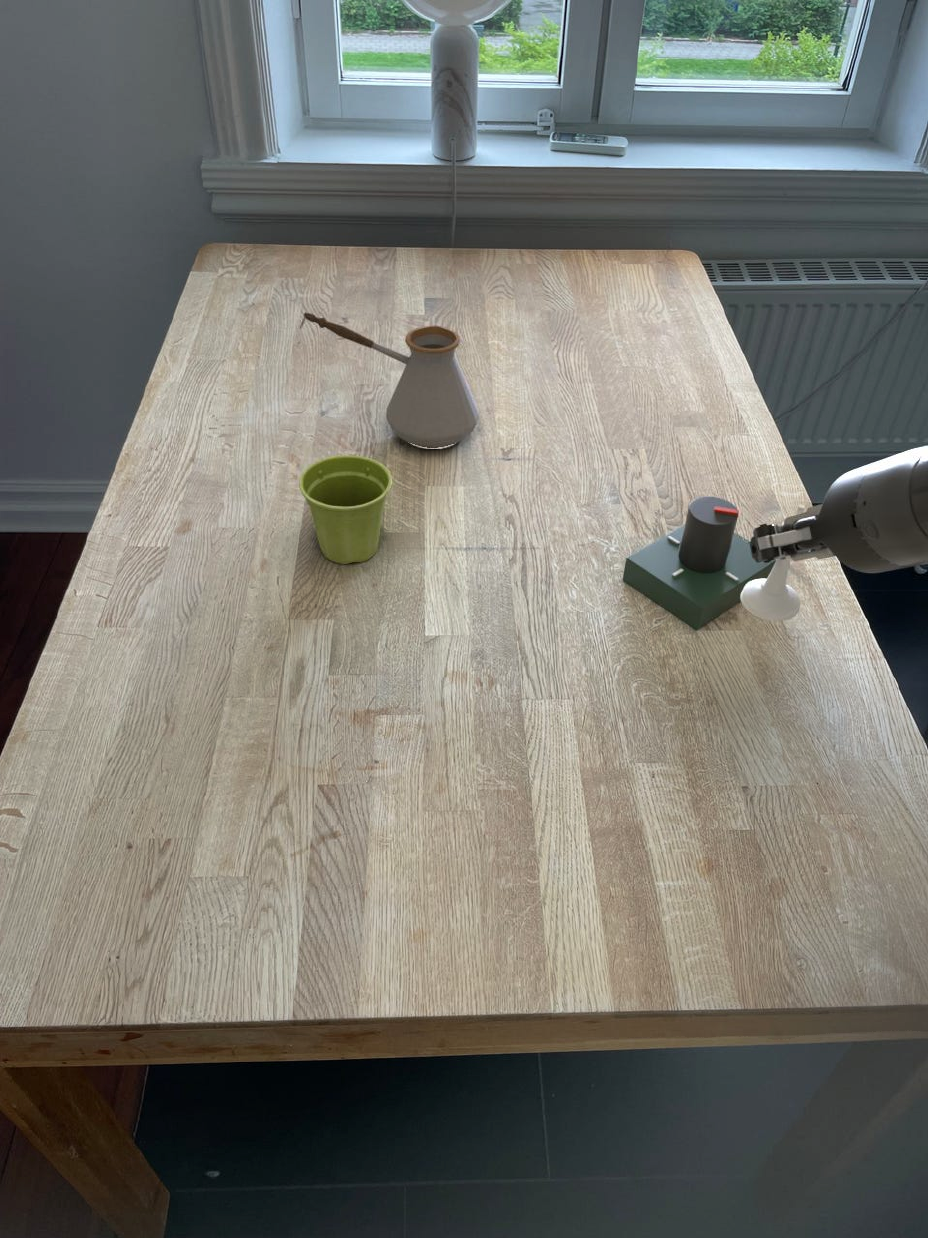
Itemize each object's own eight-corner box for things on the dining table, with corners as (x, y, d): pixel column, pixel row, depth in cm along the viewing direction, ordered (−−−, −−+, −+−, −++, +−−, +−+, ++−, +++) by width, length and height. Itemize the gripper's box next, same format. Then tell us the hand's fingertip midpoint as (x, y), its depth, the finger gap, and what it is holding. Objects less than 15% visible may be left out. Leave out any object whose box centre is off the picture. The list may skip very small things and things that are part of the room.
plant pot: (410, 538, 106) (409, 470, 100) (363, 586, 99) (359, 517, 94) (338, 512, 109) (333, 445, 103) (288, 558, 103) (279, 489, 97)
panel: (696, 536, 107) (701, 513, 105) (770, 582, 102) (778, 558, 99) (622, 579, 101) (626, 556, 99) (696, 630, 96) (703, 606, 94)
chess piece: (803, 594, 84) (838, 498, 77) (793, 628, 80) (828, 531, 74) (746, 577, 85) (776, 482, 79) (734, 610, 82) (764, 513, 75)
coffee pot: (482, 413, 125) (486, 302, 115) (474, 462, 117) (478, 346, 107) (319, 402, 127) (309, 290, 117) (299, 449, 118) (287, 334, 108)
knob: (676, 568, 98) (688, 518, 94) (680, 540, 101) (691, 490, 97) (725, 576, 97) (738, 525, 93) (726, 547, 101) (739, 497, 97)
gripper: (983, 440, 66) (831, 490, 83) (807, 469, 63) (686, 516, 80) (1006, 547, 66) (849, 576, 83) (830, 583, 63) (705, 605, 80)
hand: (770, 547), depth 81 cm, fingers closed on chess piece
